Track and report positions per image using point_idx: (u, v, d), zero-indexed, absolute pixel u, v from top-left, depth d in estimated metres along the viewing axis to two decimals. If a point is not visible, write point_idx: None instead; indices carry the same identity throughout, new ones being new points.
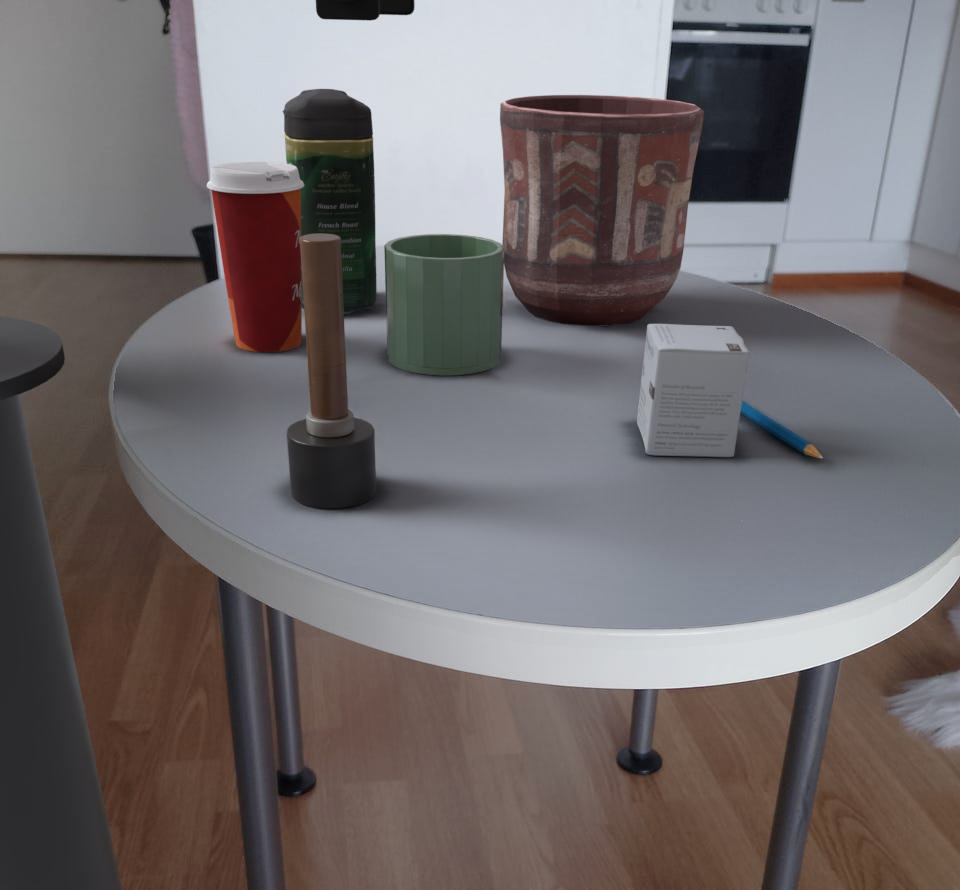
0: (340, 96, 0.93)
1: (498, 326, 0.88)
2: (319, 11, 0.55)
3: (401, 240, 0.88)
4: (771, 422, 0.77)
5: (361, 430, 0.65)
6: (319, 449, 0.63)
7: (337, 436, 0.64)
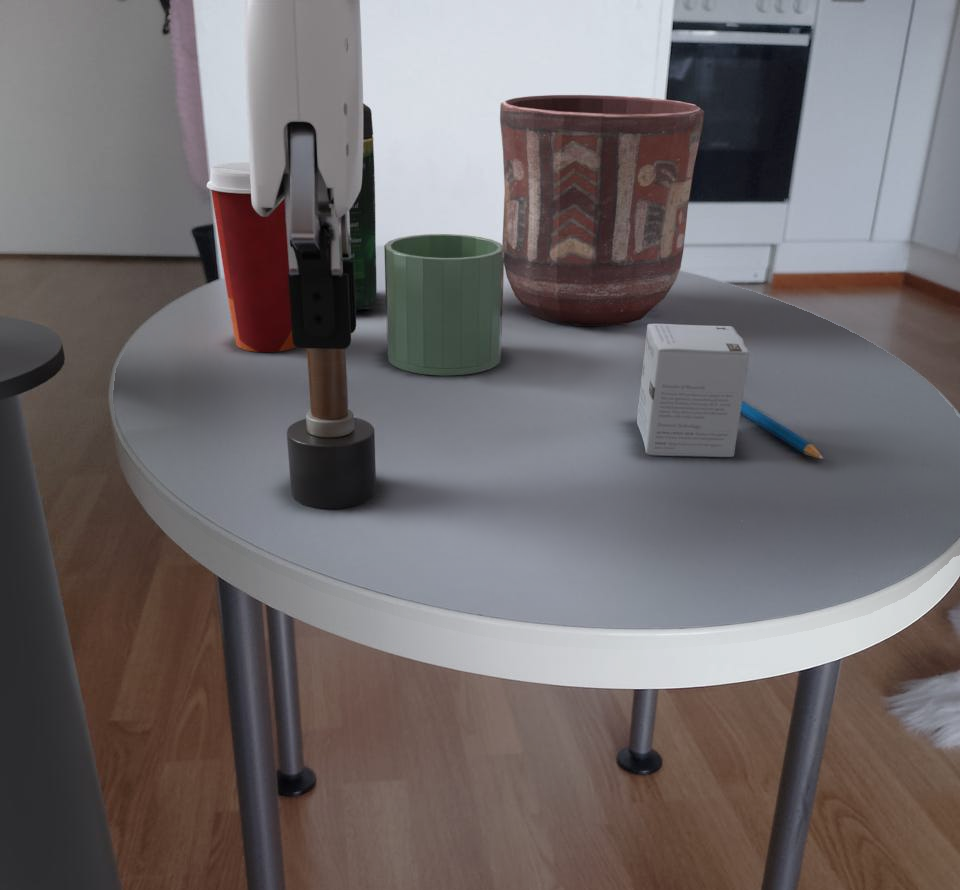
0: None
1: (498, 326, 0.88)
2: (295, 342, 0.60)
3: (401, 240, 0.88)
4: (771, 422, 0.77)
5: (361, 430, 0.65)
6: (319, 449, 0.63)
7: (337, 436, 0.64)
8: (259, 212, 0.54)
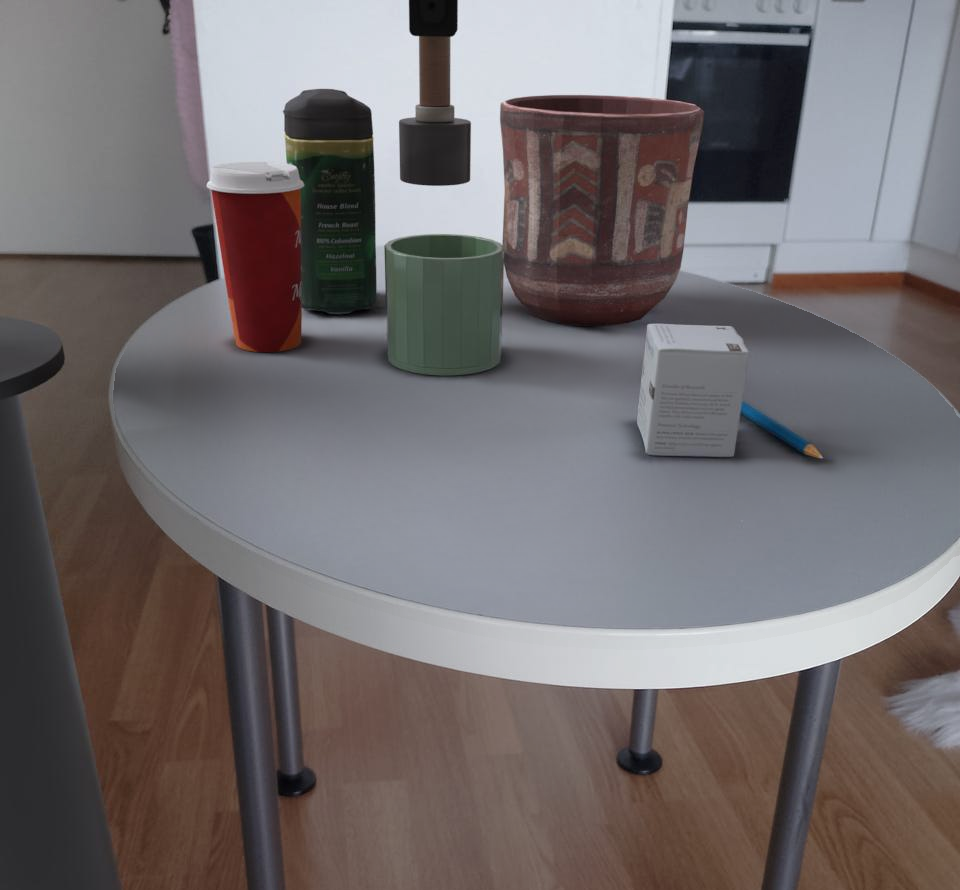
0: (340, 96, 0.93)
1: (498, 326, 0.88)
2: (411, 30, 0.74)
3: (401, 240, 0.88)
4: (771, 422, 0.77)
5: (460, 121, 0.78)
6: (428, 128, 0.76)
7: (441, 121, 0.77)
8: None
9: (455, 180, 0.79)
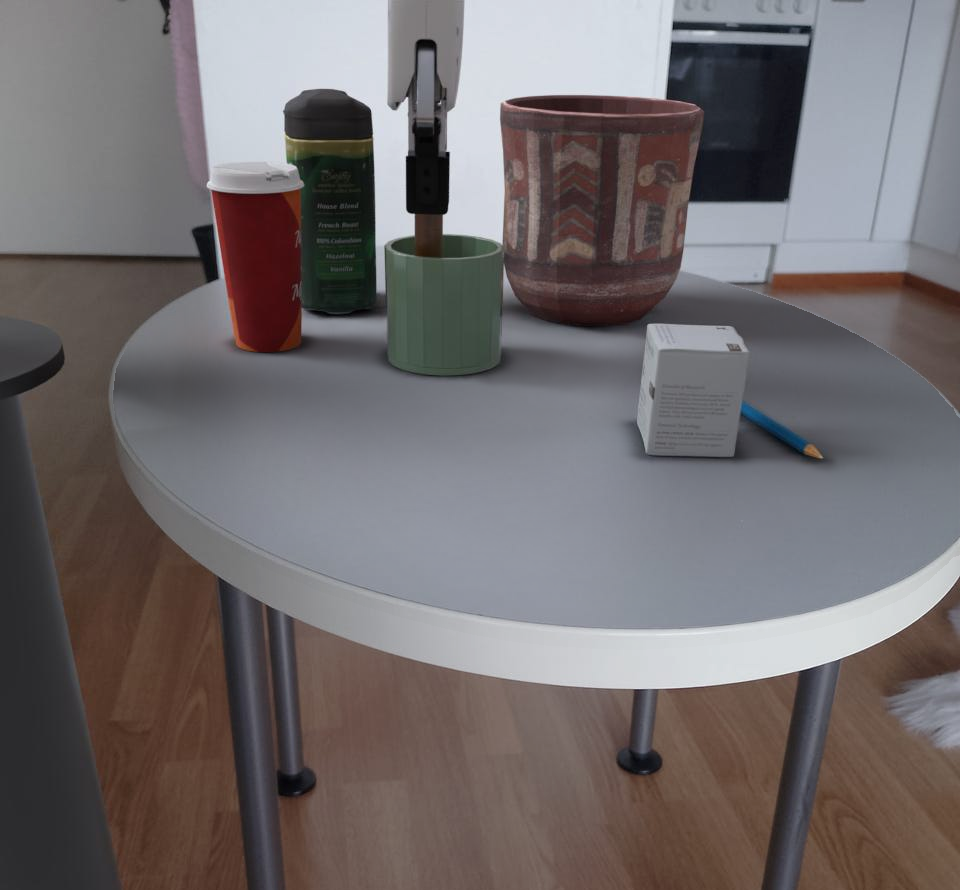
0: (340, 96, 0.93)
1: (498, 326, 0.88)
2: (407, 209, 0.83)
3: (401, 240, 0.88)
4: (771, 422, 0.77)
5: None
6: None
7: None
8: (392, 106, 0.76)
9: None
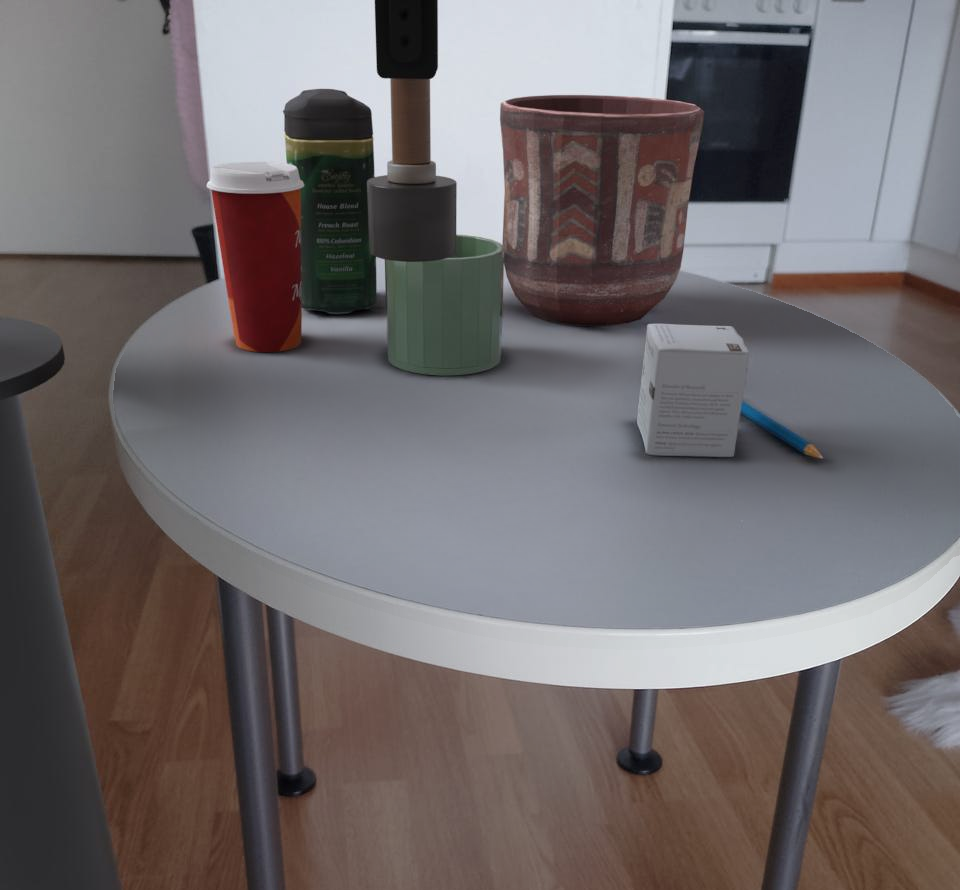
0: (340, 96, 0.93)
1: (498, 326, 0.88)
2: (379, 71, 0.59)
3: None
4: (771, 422, 0.77)
5: (443, 181, 0.63)
6: (403, 192, 0.61)
7: (420, 182, 0.62)
8: None
9: (437, 254, 0.63)
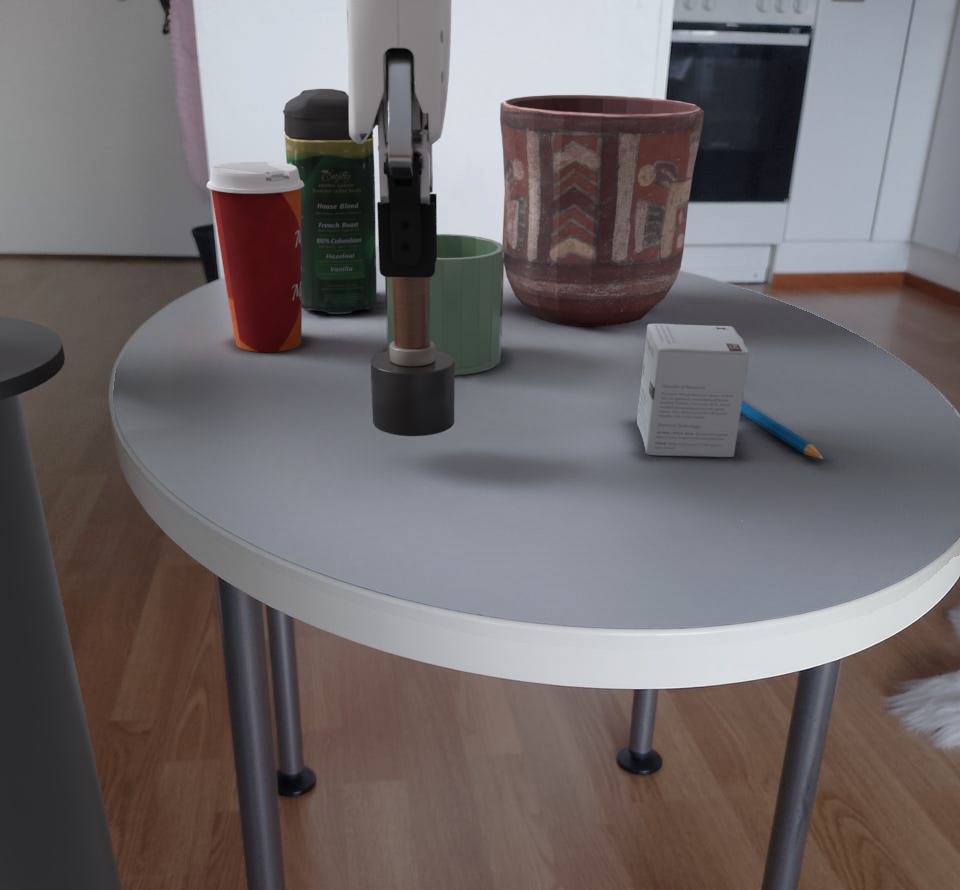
0: (340, 96, 0.93)
1: (498, 326, 0.88)
2: (381, 271, 0.63)
3: None
4: (771, 422, 0.77)
5: (442, 360, 0.67)
6: (404, 377, 0.65)
7: (420, 365, 0.66)
8: (356, 138, 0.57)
9: (437, 429, 0.67)
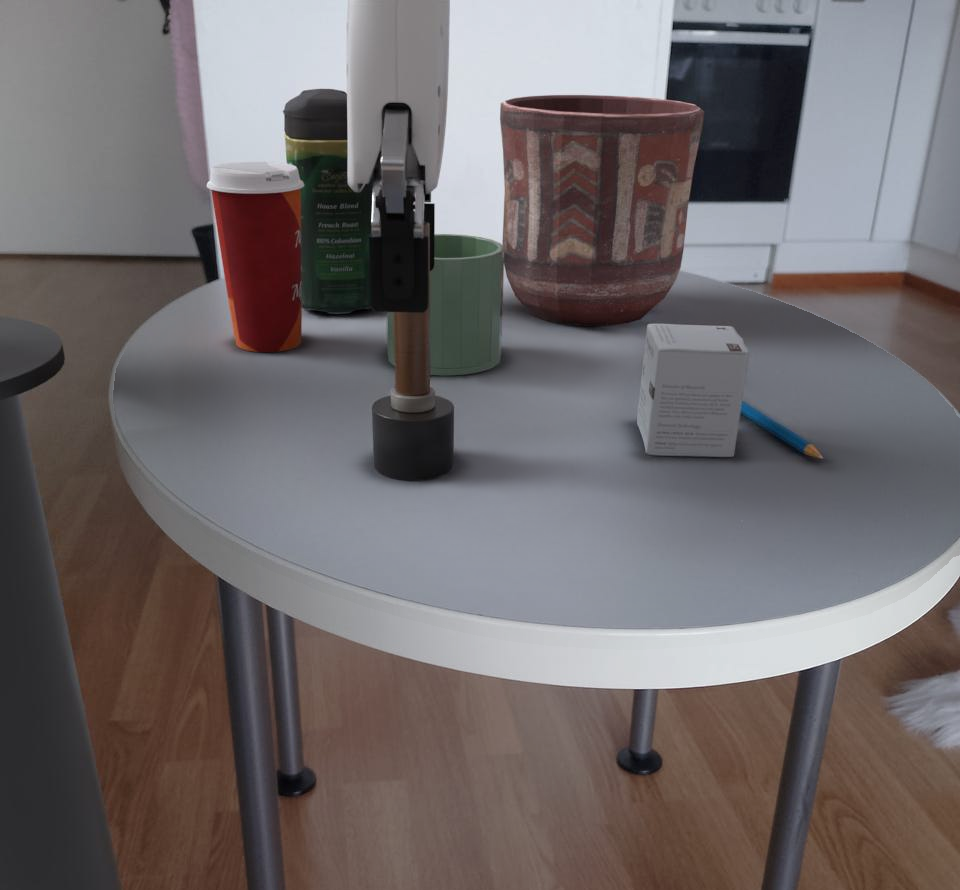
0: (340, 96, 0.93)
1: (498, 326, 0.88)
2: (373, 305, 0.61)
3: None
4: (771, 422, 0.77)
5: (442, 406, 0.69)
6: (405, 423, 0.67)
7: (420, 411, 0.68)
8: (354, 188, 0.58)
9: (436, 473, 0.69)
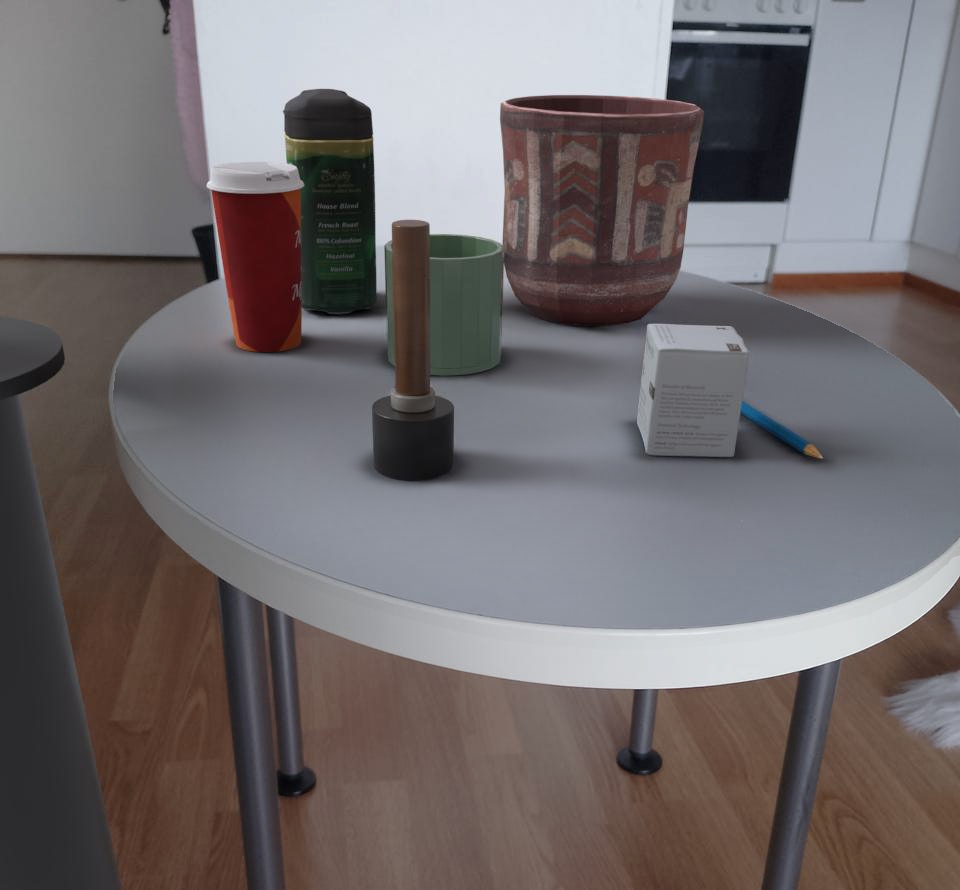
0: (340, 96, 0.93)
1: (498, 326, 0.88)
2: None
3: None
4: (771, 422, 0.77)
5: (442, 406, 0.69)
6: (405, 423, 0.67)
7: (420, 411, 0.68)
8: None
9: (436, 473, 0.69)
